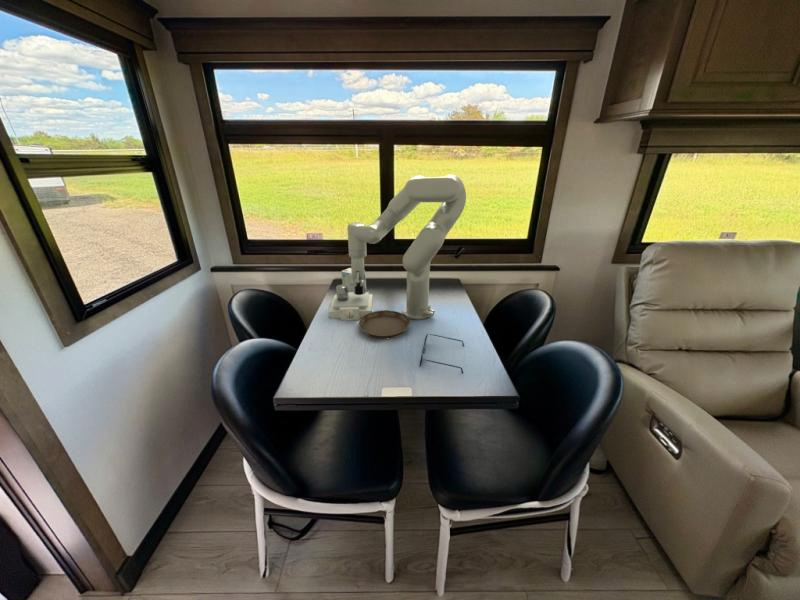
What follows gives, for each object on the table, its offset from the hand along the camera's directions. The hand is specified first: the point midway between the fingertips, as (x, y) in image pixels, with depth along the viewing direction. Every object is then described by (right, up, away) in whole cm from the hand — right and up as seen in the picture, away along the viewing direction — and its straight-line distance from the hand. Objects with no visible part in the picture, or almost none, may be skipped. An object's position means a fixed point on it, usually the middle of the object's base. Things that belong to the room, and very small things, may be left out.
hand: (359, 291), depth 148 cm
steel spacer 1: (-8, -3, +1) cm, 9 cm away
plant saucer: (+12, -16, -13) cm, 24 cm away
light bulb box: (-5, +1, +23) cm, 23 cm away
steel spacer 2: (0, -1, 0) cm, 1 cm away
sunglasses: (+33, -24, -32) cm, 52 cm away
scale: (-4, -8, +2) cm, 9 cm away
